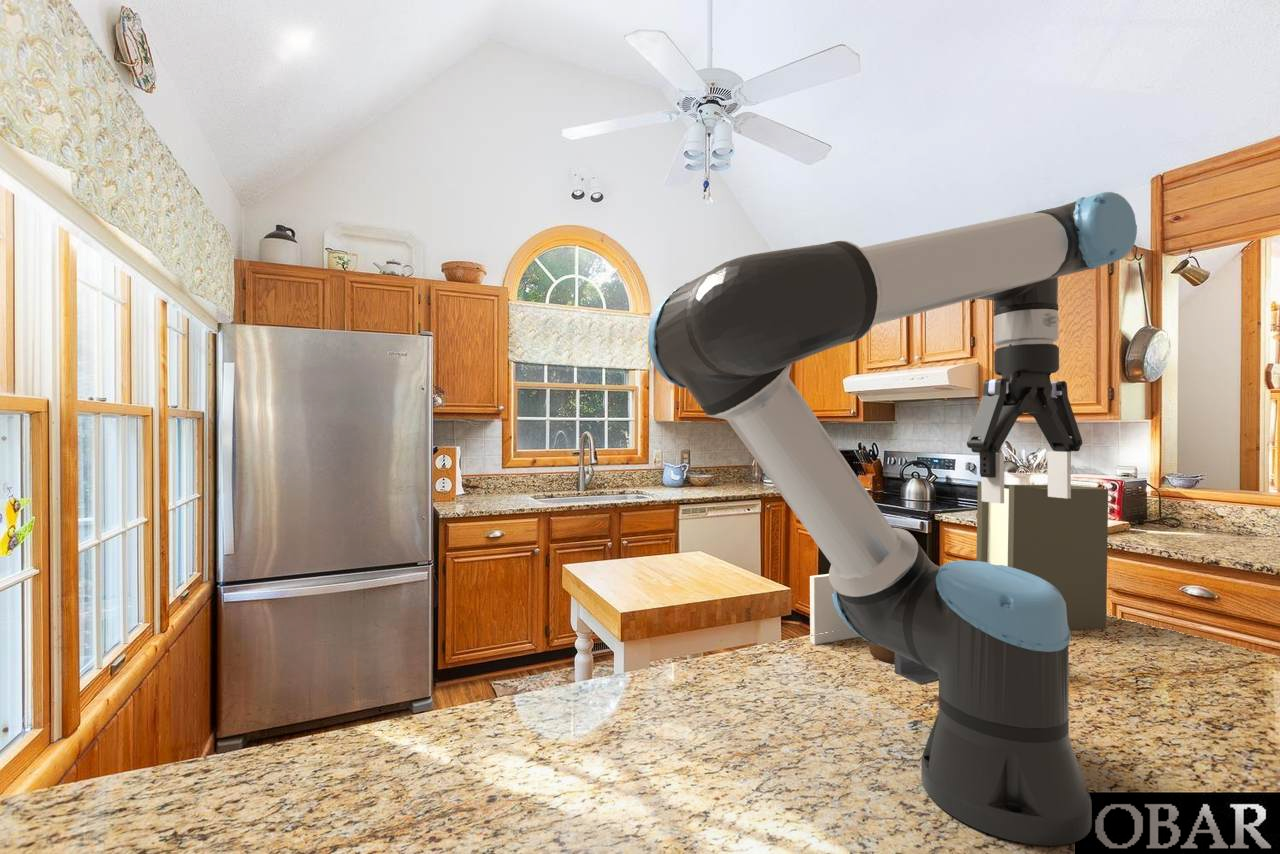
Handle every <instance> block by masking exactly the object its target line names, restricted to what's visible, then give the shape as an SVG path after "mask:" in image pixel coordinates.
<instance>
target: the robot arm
mask: <svg viewBox="0 0 1280 854" xmlns="http://www.w3.org/2000/svg"><path fill="white" fill-rule="evenodd" d="M1136 221H1137V220H1136V215H1135V212H1134V209H1133V208H1132V206H1131V204H1130V203H1129V201H1128V200H1127V199H1126V198H1125V197H1124V196H1122V195H1120V194H1118V193H1116V192H1112V191H1111V192H1110V191H1103V192H1101V193H1098V194H1094V195H1090V196H1088V197H1086V196H1085V197H1083V196H1082V197H1080V198H1078V199H1077V200H1076V201H1073V202H1070V203H1067V204H1063V205H1060V206H1057V207H1052V208H1047V209H1042V210H1038V211H1034V212H1029V213H1027V212H1026V213H1022V214H1018V215H1013V216H1012V215H1011V216H1009V217H1004V218H998V219H993V220H988V221H984V222H983V221H982V222H980V223H979V222H978V223H975V224H970V225H963V226H960V227H954V228H950V229H944V230H940V231H935V232H930V233H925V234H919V235H915V236H909V237H905V238H900V239H896V240H891V241H886V242H880V243H877V244H872V245H867V246H863V247H860V246H858V245H857V244H856V243H853V242H851V241H848V240H836V241H831V242H825V243H820V244H814V245H807V246H806V245H805V246H801V247H800V246H799V247H794V248H793V247H792V248H785V249H779V250H774V251H766V252H765V251H764V252H760V253H759V252H758V253H753V254H752V253H751V254H748V255H743V256H740V257H736V258H733V259H730V260H728V261H725V262H722V264H719V265H718V266H715V267H714V268H713V269H711V270H710V271H708V272H706V273H704V274H702V275H701V276H698V277H697V278H694V279H693V280H691V281H689V282H686V283H684V284H683V285H682V286H680V287H678V288H676V289H674V290H673V291H672V292H671V293H670V294H669V295H668V296H667V297H666V298H665V299H664V300H662V301H661V303H660V304H659V305H658V306H657V308H656V310H655V311H654V313H653V315H652V317H651V319H650V323H649V327H648V332H647V333H648V335H647V348H648V353H649V356H650V359H651V361H652V363H653V365H654V368H655V369H656V371H658V373H659V374H660V375H661V377H663V378H664V379H665V380H667V381H668V382H670V384H673V385H675V386H676V387H679V388H682V389H687V390H688V392H689V393H690V394H691V396H692V397H693V398H694V399H695V401H696V403H697V404H698V405H699V406H700V408H701V409H702V410H703V412H704V413H705V415H707V417H708V418H714V419H722V420H725V421H727V422H728V424H729V425H730V426H731V428H732V429H733V431H734V432H735V433H736V434H737V436H738V437H739V439H740V440H741V442H742V443H743V444H744V446H745V447H746V449H747V450H748V451H749V452H750V455H751V456H752V457H753V458H754V459H755V462H757V464H758V466H759V467H760V468H761V469H762V471H763V472H764V473H765V475H766V476H767V478H768V480H769V481H771V483H772V485H773V486H774V487H775V488H776V490H777V491H778V492H779V494H780V496H781V497H782V498H783V500H784V501H785V502H786V504H787V505H788V506H789V507H790V509H791V511H792V512H793V513H794V515H795V516H796V517H797V519H798V521H800V523H801V525H803V527H804V528H805V530H806V531H807V533H808V535H810V536H811V538H812V540H813V541H814V542H815V544H816V546H817V547H819V549H820V551H821V552H822V553H823V556H825V558H826V559H827V561H829V563H830V567H829V570H828V574H829V580H830V583H831V585H832V587H833V588H834V594H832V598H833V602H834V606H835V608H836V611H837V613H838V615H839V616H840V618H841V619H842V621H843V622H844V623H845V624H846V625H847V626H848V627H849V628H850V629H851V630H853V631H854V632H856V633H857V634H858V635H859V636H860V638H862V639H864V640H865V641H867V642H868V643H869V642H871V643H873V644H876V645H879V646H882V647H884V648H887V649H889V650H891V651H893V652H895V653H897V654H900V655H902V656H904V657H906V658H908V659H910V660H913V661H915V662H917V663H919V664H921V665H923V666H925V667H927V668H929V669H931V670H933V671H935V672H937V673H938V679H939V680H938V712H937V714H936V717H935V720H934V722H933V725H932V727H931V731H930V732H929V736H928V739H927V741H926V744H925V748H924V750H923V751H922V756H921V761H920V762H921V763H920V765H921V767H920V769H921V771H920V772H921V773H920V774H921V775H920V776H921V784H922V786H923V788H924V791H925V792H926V794H927V795H928V796H929V797H930V799H931V800H932V801H933V802H934V803H935V804H936V805H937V806H938V807H940V809H942V810H943V811H945V812H946V813H948V814H949V815H950V816H952V817H953V818H955V819H956V820H959V821H960V822H962V823H964V824H966V825H968V826H970V827H971V828H975V829H976V830H979V831H982V832H984V833H987V834H989V835H991V836H995V837H997V838H1001V839H1004V840H1009V841H1012V842H1016V843H1017V842H1018V843H1022V844H1029V845H1034V846H1046V847H1047V846H1050V847H1051V846H1064V845H1070V844H1073V843H1076V842H1079V841H1081V840H1083V839H1084V838H1086V837H1087V836H1088V835H1089V834H1090V832H1091V829H1092V826H1093V825H1092V824H1093V823H1092V822H1093V819H1092V817H1093V816H1092V814H1093V811H1092V809H1093V808H1092V807H1093V806H1092V799H1091V796H1090V792H1089V790H1088V789H1087V786H1086V783H1085V780H1084V777H1083V774H1082V771H1081V767H1080V764H1079V762H1078V759H1077V757H1076V754H1075V751H1074V748H1073V746H1072V743H1071V740H1070V739H1071V738H1070V729H1069V726H1070V725H1069V721H1070V720H1069V717H1070V716H1069V715H1070V714H1069V713H1070V711H1069V709H1070V708H1069V706H1070V705H1069V704H1070V702H1069V700H1070V699H1069V697H1070V696H1069V695H1070V694H1069V691H1070V690H1069V689H1070V687H1069V686H1070V685H1069V679H1070V678H1069V675H1070V672H1069V669H1070V668H1069V667H1070V665H1069V652H1070V651H1069V646H1070V645H1069V644H1070V643H1071V630H1069V626H1068V622H1067V610H1066V603H1065V601H1064V599H1063V597H1062V595H1061V593H1060V592H1059V591H1058V590H1057V589H1056V588H1055V587H1054V586H1053V585H1052V584H1050V583H1049V582H1047V581H1045V580H1044V579H1042V578H1040V577H1038V576H1035V575H1033V574H1030V573H1028V572H1025V571H1022V570H1019V569H1016V568H1012V567H1008V566H1004V565H993V564H990V563H987V562H981V561H976V560H954V561H953V560H952V561H948V562H946V563H944V564H943V565H941V566H939V565H937V564H935V563H934V562H933V561H931V559H930V558H929V557H928V555H927V554H926V552H925V551H924V550H923V548H922V546H921V545H920V544H919V542H918V541H917V539H916V538H915V537H914V535H913V534H911V533H912V532H911V533H910V532H909V531H908V530H906V529H903V528H900V527H899V528H898V527H892V525H891V524H890V523H889V521H888V520H887V519H886V517H885V515H884V513H883V512H882V511H881V510H880V508H879V507H878V505H877V504H876V502H875V501H874V499H873V498H872V497H871V495H870V494H869V492H868V491H867V489H866V487H865V486H864V485H863V483H862V482H861V480H860V479H859V478H858V476H857V474H856V473H855V471H854V470H853V469H852V467H851V466H850V464H849V463H848V461H847V460H846V458H845V457H844V455H843V454H842V453H841V451H840V450H839V448H838V446H837V445H836V443H835V442H834V441H833V440H832V438H831V437H830V435H829V433H828V432H827V431H826V429H825V428H824V426H823V425H822V424H821V421H820V420H819V419H818V417H817V416H816V414H815V413H814V411H813V410H812V408H811V407H810V406H809V405H808V403H807V401H806V400H805V399H804V397H803V396H802V394H801V393H800V391H799V390H798V389H797V387H796V386H795V384H794V382H793V381H792V380H791V378H790V372H791V368H792V364H794V363H797V362H800V361H802V360H805V359H807V358H809V357H811V356H813V355H816V354H819V353H822V352H824V351H826V350H830V349H833V348H836V347H838V346H842V345H845V344H848V343H853V342H857V341H859V340H861V339H863V338H864V337H866V335H867V334H868V333H869V332H870V331H871V330H872V328H873V327H874V326H876V325H880V324H883V323H886V322H887V323H888V322H891V321H895V320H899V319H902V318H905V317H910V316H914V315H916V314H917V315H918V314H921V313H925V312H929V311H932V310H937V309H940V308H943V307H948V306H951V305H956V304H958V303H962V302H966V301H971V300H986V301H993V344H994V345H995V346H996V347H997V346H998V348H996V349H995V351H994V352H993V353H994V354H993V357H994V358H993V363H994V365H993V366H994V367H993V370H994V374H995V375H997V376H999V377H1000V376H1001V378H995V379H994V378H992V379H985V380H984V381H983V390H982V397H981V400H980V403H979V405H978V408H977V412H976V415H975V418H974V421H973V424H972V426H971V429H970V432H969V435H968V438H967V441H966V446H967V448H969V449H970V450H971V452H972V453H977V454H979V474H980V477H981V478H980V479H981V480H980V482H981V492H982V501H983V502H992V503H1000V504H1001V503H1004V484H1005V454H1004V453H999V452H1000V450H1001V448H1002V446H1003V445H1004V443H1005V441H1006V439H1007V438H1008V435H1009V434H1010V433H1011V431H1012V428H1013V427H1014V425H1015V423H1016V422H1017V419H1018V418H1019V416H1023V414H1028V415H1029V416H1031V417H1033V418H1034V420H1035V423H1037V425H1038V427H1039V428H1040V430H1041V432H1042V434H1043V435H1044V437H1045V440H1046V441H1047V443H1048V444H1049V446H1050V448H1051V450H1052V451H1051V450H1050V451H1047V458H1046V459H1047V485H1048V497H1057V498H1067V499H1068V498H1071V486H1072V483H1071V480H1072V477H1071V475H1072V473H1071V472H1072V453H1071V452H1080V450H1081V446H1082V445H1083V439H1082V436H1081V435H1082V434H1081V433H1080V429H1079V427H1078V424H1077V420H1076V417H1075V414H1074V412H1073V409H1072V405H1071V403H1070V399H1069V392H1068V385H1067V382H1066V381H1064V380H1060V381H1059V380H1057V381H1051V377H1050V376H1051V375H1052V374H1055V373H1057V372H1058V371H1059V370H1060V347H1059V346H1058V345H1057V344H1054V343H1055V342H1057V341H1058V340H1059V322H1060V317H1059V303H1058V302H1059V300H1058V299H1059V278H1060V277H1063V276H1068V275H1070V274H1075V273H1081V272H1085V271H1089V270H1094V269H1095V270H1096V269H1098V268H1100V267H1103V266H1105V265H1109V264H1114V263H1116V262H1119V261H1120V260H1122V259H1124V258H1126V257H1127V256H1128V254H1129V253H1130V252H1131V251H1132V249H1133V247H1134V245H1135V243H1136V238H1137V234H1138V233H1137V232H1138V225H1137V222H1136Z"/></svg>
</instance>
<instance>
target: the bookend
mask: <svg viewBox="0 0 1280 854" xmlns="http://www.w3.org/2000/svg"><path fill="white" fill-rule="evenodd" d="M894 673H896V674H897V675H899V676H902V677H903V678H906V679H908V680H910V681H911V682H914V683H917V684H919V685H922V683H923V684H927V683H931V682H935V681H934V680H936V681H939V680H938V673H937V672H935V671H933V670H931V669H929V668H927V667H925V666H923V665H921V664H919V663H917V662H915V661H913V660H910V659H908V658H906V657H904V656H902V655H900V654H897V653H895V663H894ZM926 682H927V683H926Z"/></svg>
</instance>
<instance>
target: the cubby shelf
mask: <svg viewBox="0 0 1280 854" xmlns="http://www.w3.org/2000/svg"><path fill="white" fill-rule="evenodd" d="M832 594H834V588H833V587H832V585H831V583H830V580H829V573H826V574H817V575H810V576H809V613H810V614H809V629H810V631H809V633H810V634H809V636H810V637H809V642H810V644H812V645H822V644H827V643H832V642H838V641H843V640H848V639H854V638H859V637H860V636H859V635H858V634H857V633H856V632H854V631H853V630H851V629H850V628H849V627H848V626H847V625H846V624H845V623H844V622H843V621H842V619H841V618H840V616H839V615H838V613H837V611H836V608H835V606H834V602H833V598H832ZM845 629H846V630H845ZM838 630H839V631H838ZM832 631H833V632H832ZM825 632H828V633H825ZM819 633H824V634H819ZM814 634H819V635H814ZM811 635H813V636H811ZM860 638H861V637H860Z"/></svg>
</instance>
